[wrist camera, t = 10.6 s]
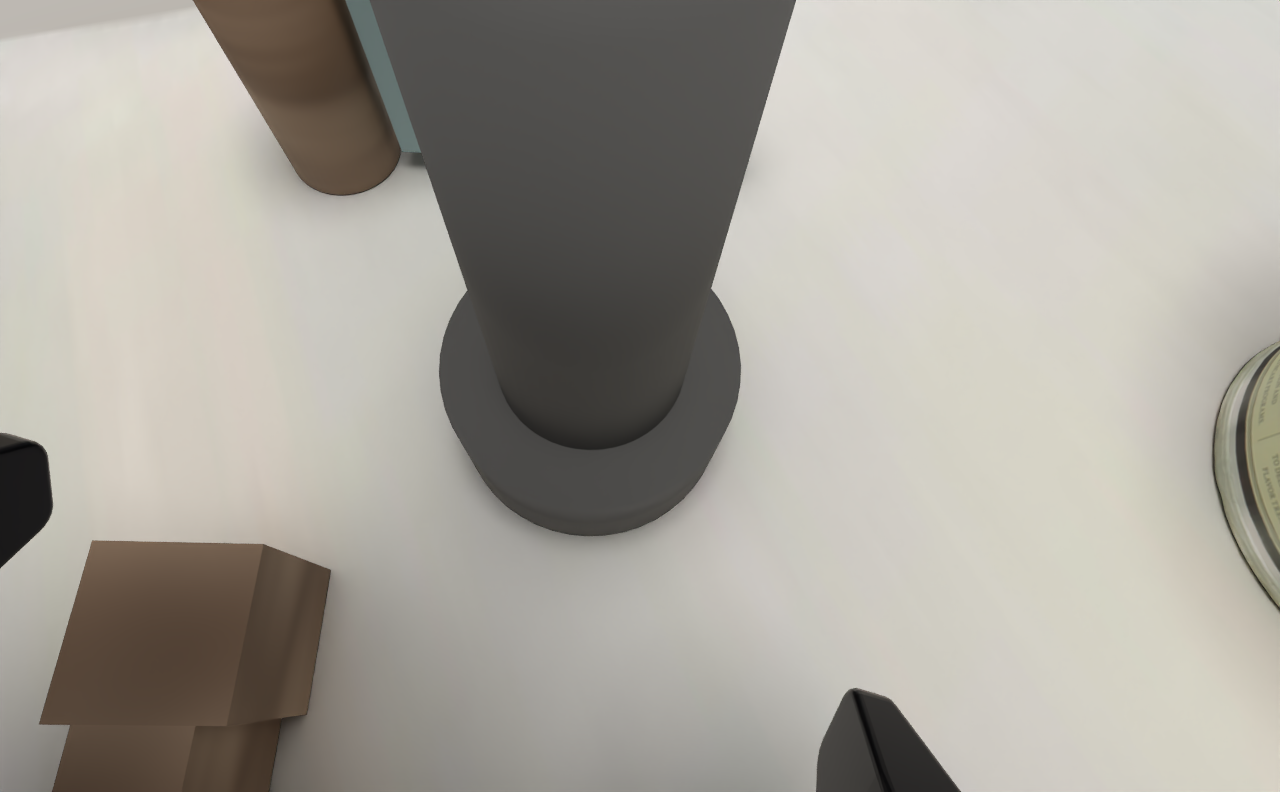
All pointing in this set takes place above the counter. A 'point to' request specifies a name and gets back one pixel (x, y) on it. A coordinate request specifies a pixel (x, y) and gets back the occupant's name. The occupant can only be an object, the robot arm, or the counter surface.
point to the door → (383, 72)
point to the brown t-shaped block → (220, 572)
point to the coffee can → (1253, 464)
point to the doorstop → (587, 234)
